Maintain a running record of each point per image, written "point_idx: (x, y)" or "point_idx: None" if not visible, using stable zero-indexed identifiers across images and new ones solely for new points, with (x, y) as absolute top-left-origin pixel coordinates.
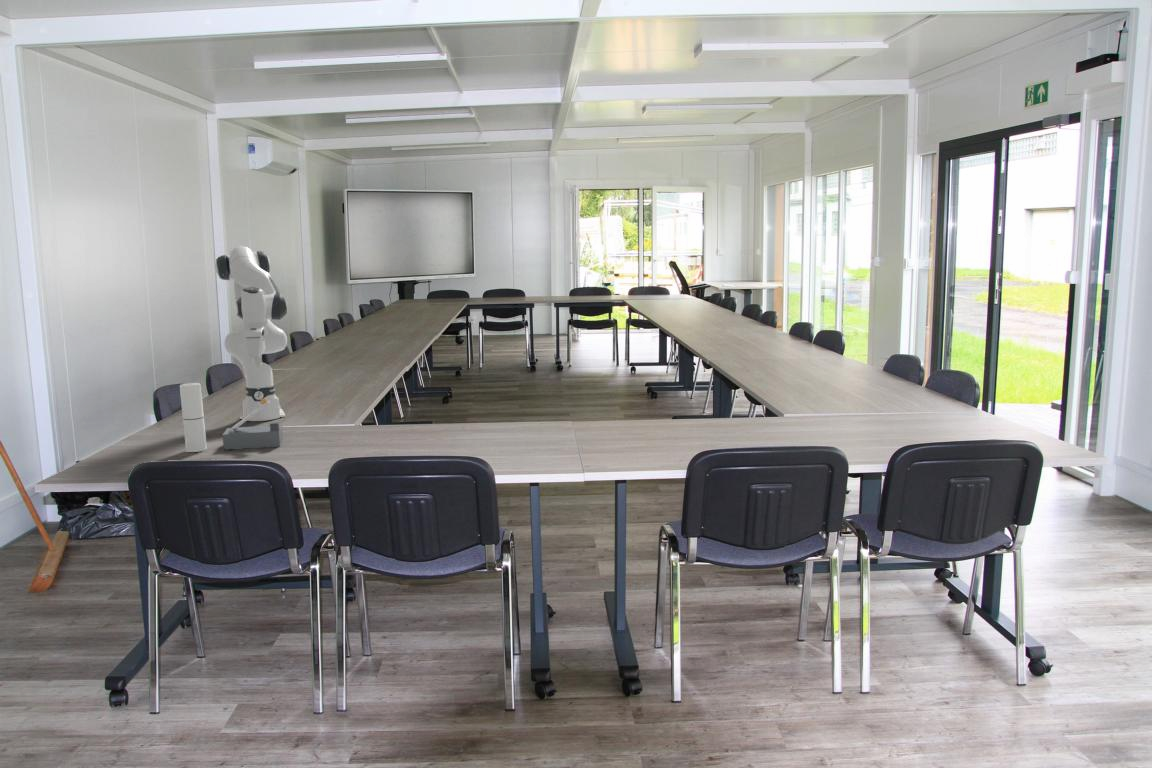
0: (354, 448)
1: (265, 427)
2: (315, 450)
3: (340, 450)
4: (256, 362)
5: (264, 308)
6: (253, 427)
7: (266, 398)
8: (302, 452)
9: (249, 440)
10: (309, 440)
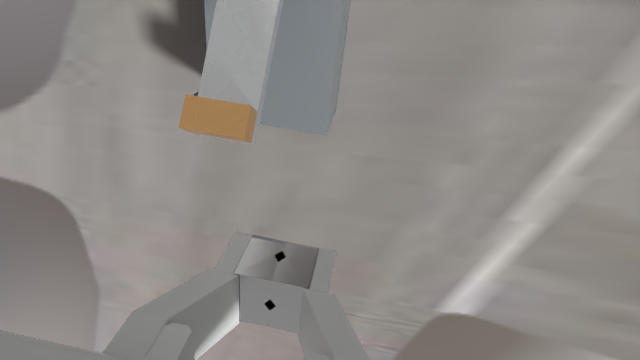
0: (165, 262)
1: (298, 66)
2: (161, 183)
3: (151, 234)
4: (216, 279)
5: None
6: (319, 10)
7: (231, 137)
8: (143, 150)
9: None
10: (292, 185)
